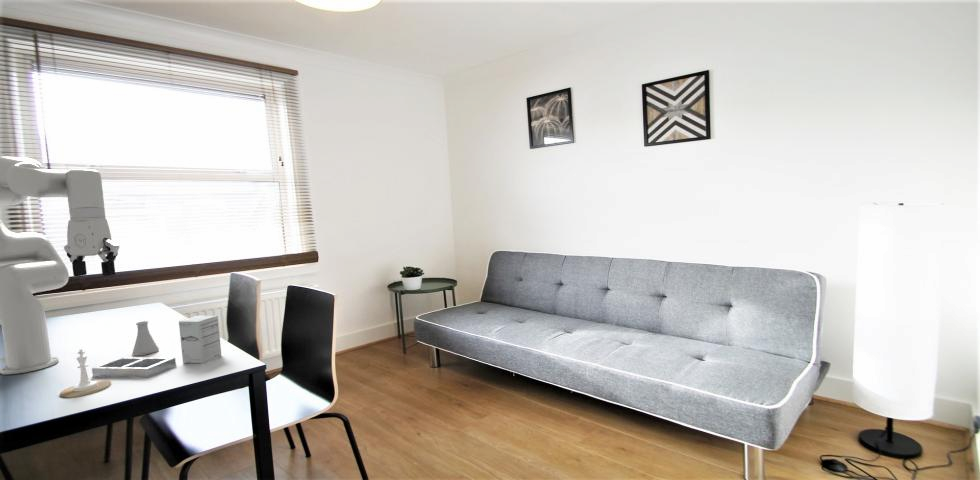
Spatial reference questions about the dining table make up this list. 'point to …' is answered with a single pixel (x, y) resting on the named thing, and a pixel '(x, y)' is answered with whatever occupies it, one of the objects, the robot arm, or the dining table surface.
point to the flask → (144, 340)
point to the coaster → (70, 393)
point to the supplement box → (200, 339)
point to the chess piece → (83, 375)
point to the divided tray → (133, 367)
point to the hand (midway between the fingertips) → (94, 275)
